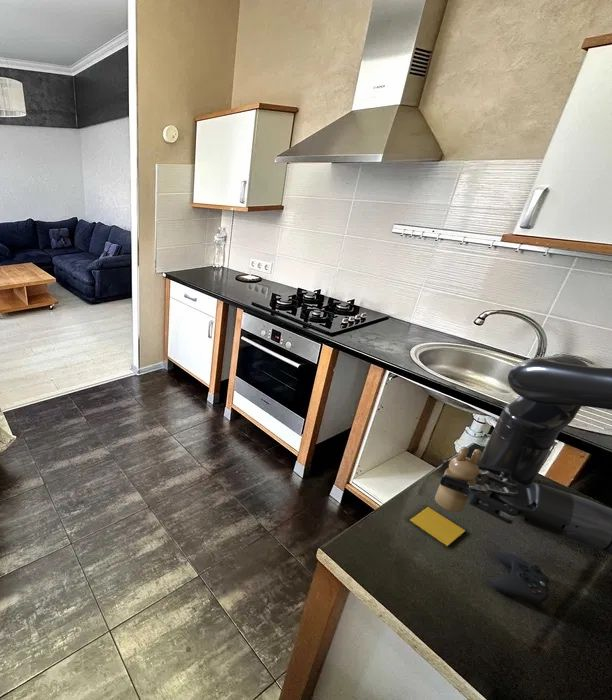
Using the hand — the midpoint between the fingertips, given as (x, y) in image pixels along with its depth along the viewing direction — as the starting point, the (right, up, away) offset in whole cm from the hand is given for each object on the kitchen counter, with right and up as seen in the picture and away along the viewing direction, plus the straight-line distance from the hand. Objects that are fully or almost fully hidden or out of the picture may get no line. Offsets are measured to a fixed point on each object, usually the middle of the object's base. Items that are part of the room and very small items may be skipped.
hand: (442, 471), depth 73 cm
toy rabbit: (+2, -7, +1) cm, 7 cm away
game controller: (+7, -18, -7) cm, 20 cm away
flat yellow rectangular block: (+2, -13, +4) cm, 13 cm away
